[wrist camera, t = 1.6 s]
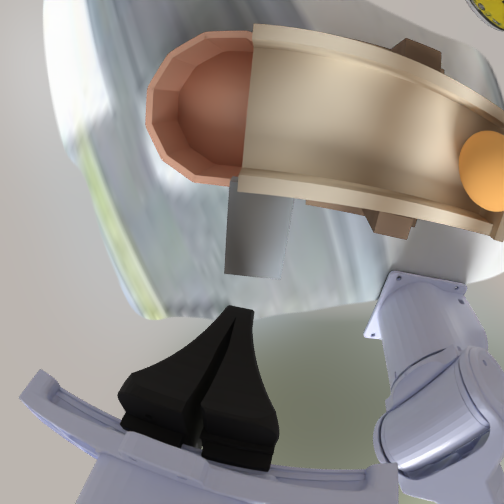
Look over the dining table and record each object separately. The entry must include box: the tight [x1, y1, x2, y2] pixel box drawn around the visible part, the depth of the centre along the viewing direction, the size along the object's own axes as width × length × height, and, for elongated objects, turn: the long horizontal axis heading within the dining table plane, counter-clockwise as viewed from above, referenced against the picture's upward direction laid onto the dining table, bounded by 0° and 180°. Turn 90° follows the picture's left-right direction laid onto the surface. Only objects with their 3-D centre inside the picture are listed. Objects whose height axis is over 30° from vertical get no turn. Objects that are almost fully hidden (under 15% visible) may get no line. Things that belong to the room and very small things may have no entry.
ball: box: [459, 131, 504, 212], centre depth 9 cm, size 4×4×4 cm
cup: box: [145, 31, 254, 187], centre depth 16 cm, size 10×10×4 cm
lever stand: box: [306, 37, 444, 240], centre depth 14 cm, size 9×13×8 cm
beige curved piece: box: [224, 24, 504, 280], centre depth 12 cm, size 16×12×6 cm
